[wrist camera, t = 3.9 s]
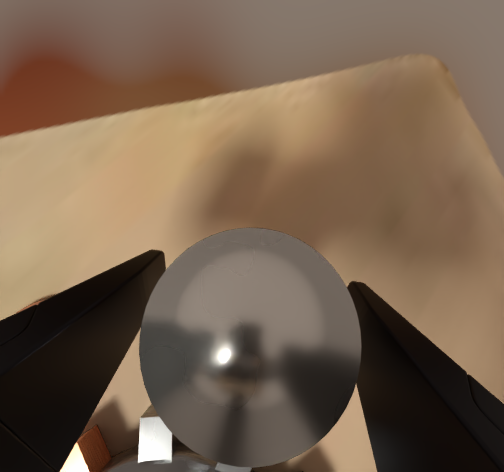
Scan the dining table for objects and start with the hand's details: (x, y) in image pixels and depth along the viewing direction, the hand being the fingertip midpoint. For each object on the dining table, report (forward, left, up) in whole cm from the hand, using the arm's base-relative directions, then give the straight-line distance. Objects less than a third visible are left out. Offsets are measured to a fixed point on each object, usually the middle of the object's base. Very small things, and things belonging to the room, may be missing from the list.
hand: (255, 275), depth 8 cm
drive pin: (-1, +1, -7) cm, 7 cm away
